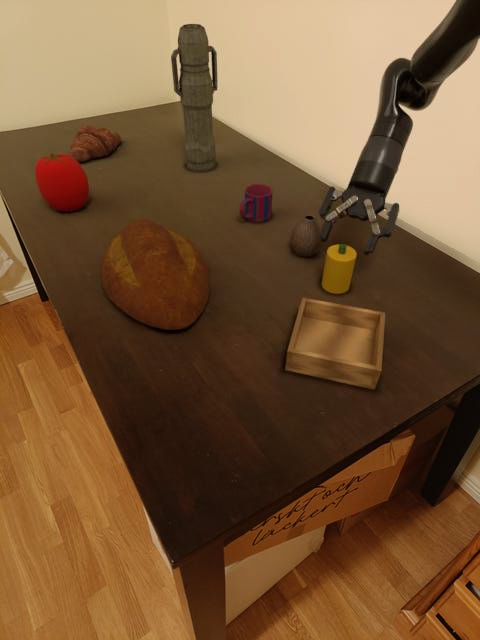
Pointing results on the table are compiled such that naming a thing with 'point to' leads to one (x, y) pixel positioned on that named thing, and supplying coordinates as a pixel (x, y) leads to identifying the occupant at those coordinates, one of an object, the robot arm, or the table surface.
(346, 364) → the tray
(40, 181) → the red rounded lump
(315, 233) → the vase
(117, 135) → the pastry
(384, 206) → the robot arm
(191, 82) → the grey stone totem
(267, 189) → the mug
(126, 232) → the bread
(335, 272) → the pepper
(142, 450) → the table surface
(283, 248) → the table surface
